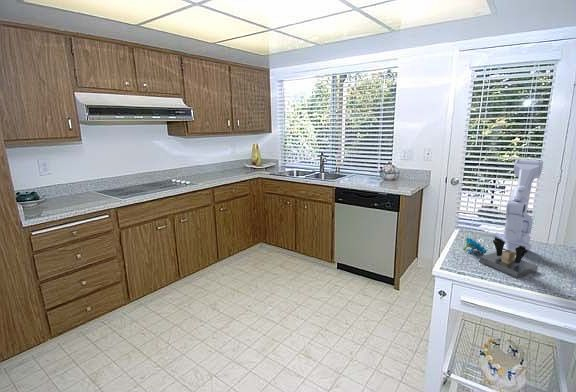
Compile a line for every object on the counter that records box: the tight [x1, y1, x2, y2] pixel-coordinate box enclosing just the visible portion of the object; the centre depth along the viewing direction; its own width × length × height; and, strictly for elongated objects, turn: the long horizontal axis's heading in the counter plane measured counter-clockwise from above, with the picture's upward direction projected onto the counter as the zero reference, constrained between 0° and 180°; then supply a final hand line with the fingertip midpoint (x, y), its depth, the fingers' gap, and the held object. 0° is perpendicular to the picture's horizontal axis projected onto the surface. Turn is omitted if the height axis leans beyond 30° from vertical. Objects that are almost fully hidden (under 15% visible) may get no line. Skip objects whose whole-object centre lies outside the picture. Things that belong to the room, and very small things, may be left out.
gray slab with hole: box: [478, 251, 539, 279], centre depth 133 cm, size 13×16×2 cm
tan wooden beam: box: [501, 250, 516, 264], centre depth 133 cm, size 4×3×7 cm, turn 113°
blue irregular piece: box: [463, 237, 488, 255], centre depth 147 cm, size 11×6×10 cm
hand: (508, 259), depth 133 cm, fingers open, 7 cm apart
